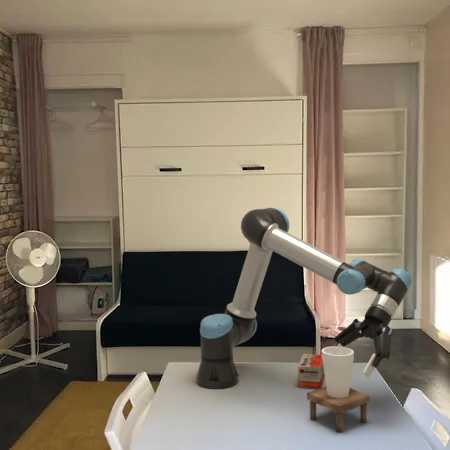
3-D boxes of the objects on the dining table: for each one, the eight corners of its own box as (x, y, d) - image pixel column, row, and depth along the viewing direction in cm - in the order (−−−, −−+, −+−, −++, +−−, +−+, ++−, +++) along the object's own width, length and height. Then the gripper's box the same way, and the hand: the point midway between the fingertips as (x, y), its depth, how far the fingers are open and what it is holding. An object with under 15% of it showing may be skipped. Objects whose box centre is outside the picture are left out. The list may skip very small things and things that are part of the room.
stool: (307, 418, 163) (306, 392, 162) (337, 407, 170) (336, 383, 170) (339, 434, 152) (339, 406, 152) (369, 422, 160) (369, 395, 159)
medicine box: (302, 373, 203) (302, 352, 202) (324, 375, 200) (324, 354, 200) (297, 388, 188) (297, 365, 187) (321, 390, 186) (321, 367, 185)
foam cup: (354, 401, 155) (354, 356, 154) (321, 399, 157) (321, 355, 156) (353, 389, 165) (353, 347, 164) (322, 387, 166) (322, 345, 166)
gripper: (420, 326, 161) (387, 387, 153) (356, 312, 181) (324, 365, 174) (409, 312, 158) (375, 373, 150) (345, 298, 178) (312, 352, 171)
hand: (348, 369), depth 162 cm, fingers open, 13 cm apart
